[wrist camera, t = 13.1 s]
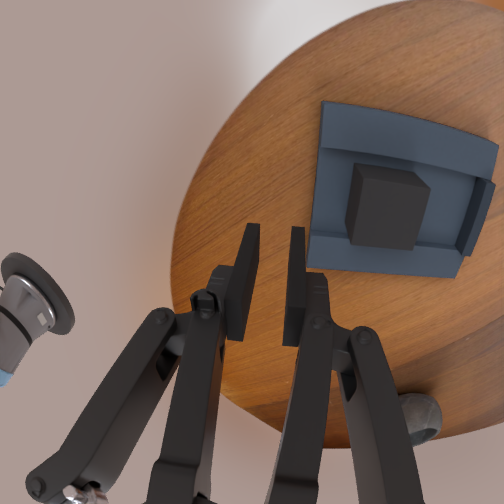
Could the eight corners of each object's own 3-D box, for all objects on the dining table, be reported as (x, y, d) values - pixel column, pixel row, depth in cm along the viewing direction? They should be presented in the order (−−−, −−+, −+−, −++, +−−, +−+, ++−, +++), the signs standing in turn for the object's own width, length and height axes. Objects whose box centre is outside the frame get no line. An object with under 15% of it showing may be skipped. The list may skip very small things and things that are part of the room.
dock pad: (306, 256, 30) (306, 273, 28) (321, 100, 21) (325, 103, 19) (448, 268, 28) (457, 284, 26) (488, 140, 19) (504, 148, 17)
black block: (344, 222, 26) (350, 245, 23) (353, 162, 23) (363, 177, 20) (400, 228, 26) (412, 251, 22) (414, 171, 22) (431, 188, 19)
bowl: (362, 395, 46) (365, 442, 38) (436, 372, 41) (447, 419, 32) (374, 419, 53) (376, 457, 45) (435, 401, 47) (442, 439, 39)
